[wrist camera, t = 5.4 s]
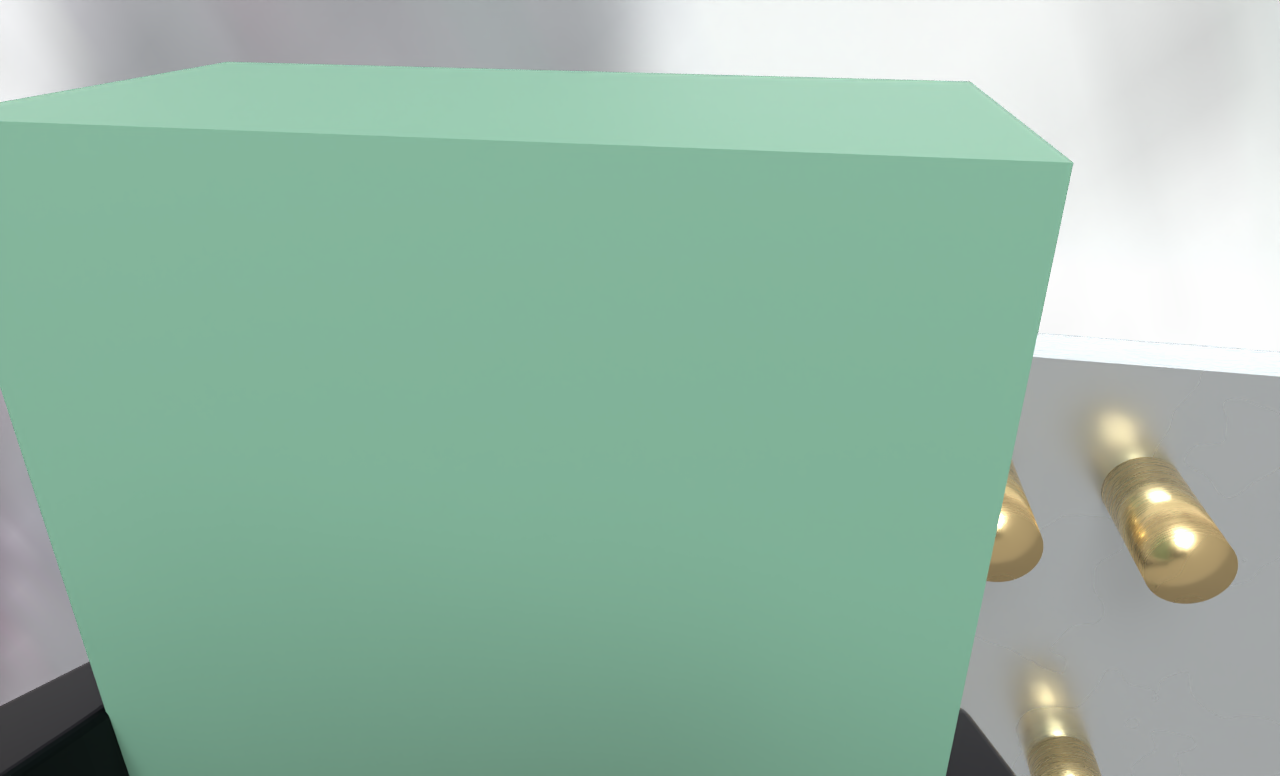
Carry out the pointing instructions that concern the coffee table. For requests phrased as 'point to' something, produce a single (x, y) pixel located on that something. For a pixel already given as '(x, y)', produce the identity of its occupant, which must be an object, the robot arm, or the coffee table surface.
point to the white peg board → (1136, 566)
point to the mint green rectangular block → (522, 410)
